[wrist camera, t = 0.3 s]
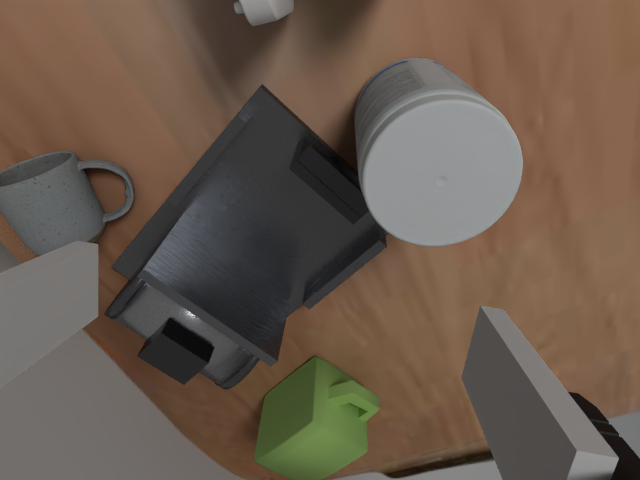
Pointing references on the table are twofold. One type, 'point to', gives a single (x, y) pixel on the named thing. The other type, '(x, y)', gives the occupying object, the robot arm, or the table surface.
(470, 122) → the supplement tub
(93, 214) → the ceramic mug
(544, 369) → the robot arm
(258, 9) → the cable organizer
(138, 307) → the motor clip
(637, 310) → the table surface
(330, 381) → the gearbox
